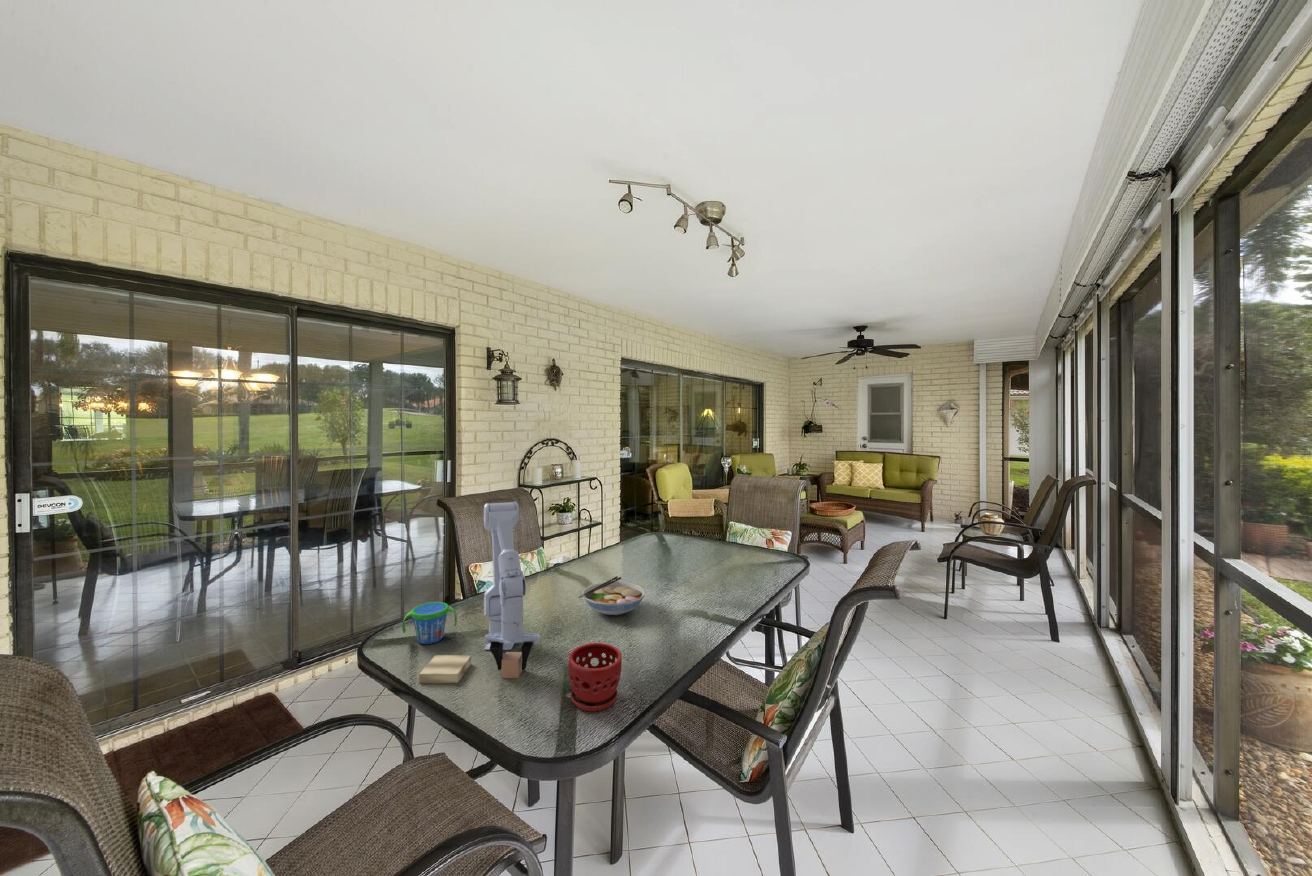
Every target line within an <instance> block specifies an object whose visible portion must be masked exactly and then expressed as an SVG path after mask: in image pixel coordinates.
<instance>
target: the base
mask: <svg viewBox="0 0 1312 876" xmlns="http://www.w3.org/2000/svg"><path fill="white" fill-rule="evenodd" d="M471 665H472V655H468V654H467V655H466V654H465V655H464V654H463V655H457V654H456V655H455V654H454V655H453V654H452V655H451V654H449V655H448V654H447V655H445V654H444V655H442V654H441V655H440V654H439V655H438V654H437V655H436V654H435V655H434V656H433V657H432V659H431V660H430V661H429V662H428V663H427V664H426V665H425V666H424V668H422V670H421V671H420V672H419V674H418V676H419V677H418V683H419V684H458V683H460V681H461V679H462V678H463V676H464V675H465V673H466V672H467V671H468V669H469V668H470V666H471Z"/></svg>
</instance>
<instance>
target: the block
mask: <svg viewBox="0 0 1312 876" xmlns="http://www.w3.org/2000/svg"><path fill="white" fill-rule="evenodd" d="M522 672H523V670H522V652H521V651H505V654H503V659H502V669H501V679H519V678H520V676H521V673H522Z"/></svg>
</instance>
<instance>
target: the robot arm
mask: <svg viewBox="0 0 1312 876" xmlns="http://www.w3.org/2000/svg"><path fill="white" fill-rule="evenodd" d="M519 519H520V506H519V503H518V502H517V501H510V502H497V503H495V502H494V503H487V502H485V504H484V506H483V527H484V530H487V531H489V532H490V535H491V541H492V544H491V545H492V547H491V548H492V576H493V577H492V579H493V580H492V581H493V582H492V585H491V586H489V587H488V588H487V589H486V590H485V591H484V594H483V613H484V614H483V615H484V617H486V618H487V619H488V633H486V634H485V635H484V645H485V647H484V650H485V651H490V652H491V655H493V658H494V659H495V662H496V663H495V664H496V666H497V671H502V659H503V657H504V654H503V653H504V651H510V650H512V648H513V647H514V645H515V644H522V645H521V647H520V650H521V651H520V652H522V671H525V670H526V668H527V664H528V659H529V655H530V652H531V649H532V647H533V645H539V643H540V640H541V638H540V637H541V635H540V633H531V632H525V631H524V597H525V596H526V592H527V583H526V577H525V575H524V571H523V570H522V568H521V562H520V561H521V560H520V554H519V552H518V551H517V550H515V546H514V545H515V544H514V541H515V540H514V528H515V527H516V526H517V523H518V521H519Z"/></svg>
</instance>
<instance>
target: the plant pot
mask: <svg viewBox="0 0 1312 876" xmlns="http://www.w3.org/2000/svg"><path fill="white" fill-rule="evenodd" d="M589 654H591V655H590V656H589ZM602 654H605V657H604V656H603V655H602ZM577 659H578V660H577ZM583 659H584V660H583ZM592 659H597V660H598V663H597V664H595V665H592V663H591V661H592ZM622 660H623V658H622V652H621V651H620V650H619V649H618V648H617V647H616V646H613V644H608V643H605V642H591V643H586V644H582V645H580V646H577V647H575V648H574V649H573V650H572V651H571V652H570V653H569V655H568V680H569V684H570V686H571V689H572V690H571V693H570V698H571V702H572V703H573V705H575V706H576V707H577V708H579V709H581V710H583V711H588V712H596V711H597V710H599V711H603V710H605V708H606V709H608V708H609V707H610V706H612V705H613V704H614V703H615V702H616V701H617V698H618V695H619V693H618V689H617V688H618V686H619V684H620V683H619V682H620V679H621V674H622V664H623V663H622V662H623V661H622ZM603 662H605V664H604V663H603ZM586 665H587V667H586ZM607 707H608V708H607ZM602 709H603V710H602ZM597 712H598V711H597Z"/></svg>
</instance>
